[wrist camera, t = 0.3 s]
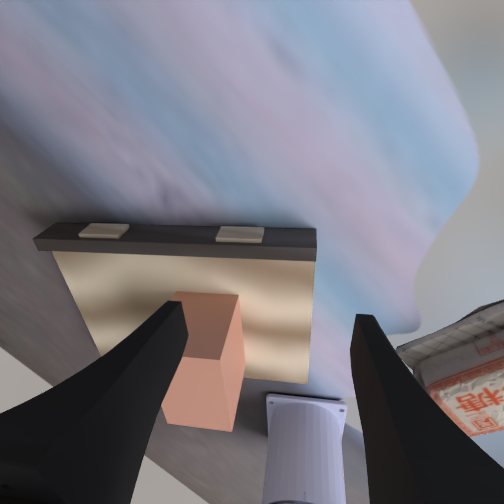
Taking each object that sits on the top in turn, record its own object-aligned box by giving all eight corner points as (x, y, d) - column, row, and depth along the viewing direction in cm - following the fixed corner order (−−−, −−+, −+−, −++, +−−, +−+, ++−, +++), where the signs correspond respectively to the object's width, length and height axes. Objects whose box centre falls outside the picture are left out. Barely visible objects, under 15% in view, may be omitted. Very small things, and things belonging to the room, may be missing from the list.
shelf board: (307, 369, 30) (307, 394, 27) (112, 351, 33) (98, 371, 31) (316, 224, 21) (316, 244, 19) (54, 219, 25) (30, 235, 22)
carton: (238, 295, 24) (219, 360, 19) (245, 363, 28) (231, 431, 23) (173, 291, 25) (139, 352, 20) (190, 358, 29) (165, 423, 24)
